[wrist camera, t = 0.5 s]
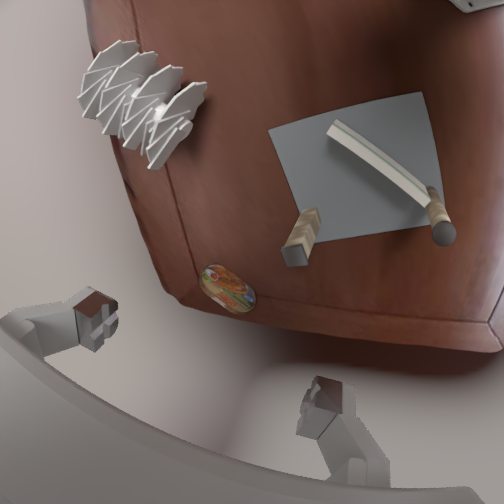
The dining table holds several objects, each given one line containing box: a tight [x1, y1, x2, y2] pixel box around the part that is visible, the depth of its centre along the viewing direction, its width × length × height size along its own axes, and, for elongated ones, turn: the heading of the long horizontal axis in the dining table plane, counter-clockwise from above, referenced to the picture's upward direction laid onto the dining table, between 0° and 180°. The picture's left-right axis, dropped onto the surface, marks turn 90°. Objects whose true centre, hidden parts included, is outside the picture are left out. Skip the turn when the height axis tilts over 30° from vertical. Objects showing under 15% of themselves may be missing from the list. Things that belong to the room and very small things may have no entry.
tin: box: [199, 264, 256, 315], centre depth 72 cm, size 15×3×8 cm, turn 57°
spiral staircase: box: [77, 40, 208, 170], centre depth 46 cm, size 18×18×25 cm
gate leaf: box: [326, 119, 431, 208], centre depth 43 cm, size 19×2×6 cm, turn 64°
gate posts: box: [280, 186, 456, 267], centre depth 46 cm, size 26×4×15 cm, turn 114°
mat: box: [268, 92, 445, 243], centre depth 49 cm, size 28×24×1 cm
